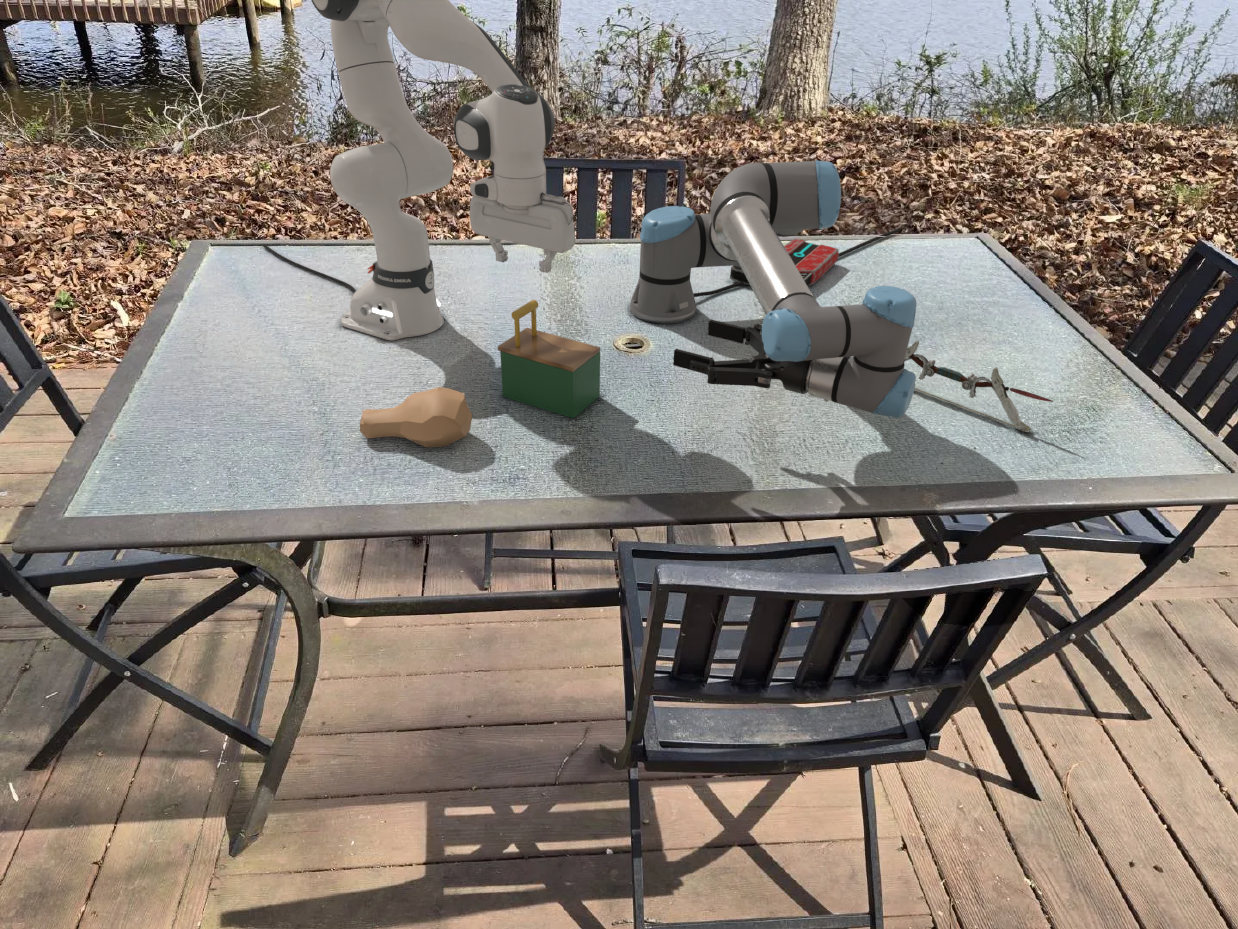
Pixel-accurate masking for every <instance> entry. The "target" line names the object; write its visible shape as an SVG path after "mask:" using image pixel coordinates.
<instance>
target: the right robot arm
mask: <svg viewBox="0 0 1238 929" xmlns="http://www.w3.org/2000/svg"><path fill="white" fill-rule="evenodd" d="M840 179H841V178H840V175H839V172H838V168H837V167H836V165H835V164H834V163H833V162H831V161H827V160H818V159H815V160H806V161H804V160H803V161H783V162H782V161H779V162H751V163H747V164H743V165H740V166H739V167H737V168H735V169H733V170H732V171H730V172H729V173H728V174H727V175H726V176H725V177H723V179H722V180H721V181H720V183H719V184H718V185H717V187H716V188H715V191H714V193H713V195H712V197H711V198H712V199H711V201H710V208H709V213H698V214H696V213H695V210H693V209H692V208H690V207H689V206H679V205H669V206H668V205H667V206H662V207H659V208H656V209H653V210H651V211H650V212H648V213H647V214H646V215H645V216H644V217H643V219H642V220H641V229H640V234H639V240H640V252H639V277H638V280H637V283H636V286H635V288H634V291H633V293H632V296H631V299H630V306H629V307H630V308H629V309H630V312H631V314H632V315H633V316H634V317H636V318H638V319H640V320H642V321H645V322H649V323H652V324H653V323H654V324H663V325H666V324H670V325H671V324H679V323H683V322H686V321H689V320H690V319H692V318H693V317H694V316H695V315H696V310H697V304H696V298H697V297H705V296H712V295H716V294H719V293H723V292H725V291H728V290H732V289H735V288H738V287H742V286H747V285H746V284H744V283H743V282H735V283H732V284H729V285H726V286H723V287H721V288H716V289H714V290H713V289H712V290H710V291H700V292H694V291H693V287H692V283H691V272H692V269H694V268H696V269H697V268H712V267H713V268H714V267H731V266H736V265H737V266H740V267H741V269H742V270H743V272H744V274H745V276H746V278H747V280H748V282H749V284H750V285H749V286H750V288H751V289H752V291H753V293H754V295H755V297H756V299H757V301H758V303H759V305H760V306H761V308H762V310H763V312H764V314H765V316H764V318H763V320H762V323H761V324H760V323H754V324H753V326H746V327H744V326H739V325H736V324H731V323H727V322H723V321H720V320H715V319H711V318H710V319H709V320H708V324H707V326H708V327H707V336H710V337H714V338H718V339H722V340H726V341H729V342H734V343H737V344H743V343H744V346H750V347H751V348H752V349H753V350H754V351H756V353H757V355H751V356H750V357H749V358H744V359H729V360H715V358H713V356H712V357H710V356H706V355H703V354H698V353H694V352H691V351H687V350H683V349H679V348H675V349H674V351H673V363H672V366H674V367H678V368H682V369H686V370H689V371H693V372H697V373H700V374H704V375H706V376H707V379H706V380H707V382H706V383H707V384H709V385H722V386H746V387H747V386H748V387H749V386H751V387H756V388H757V387H758V388H763V389H770V388H771V383H772V380H775V381H776V380H777V381H781V383H782V386H783V389H785V390H786V391H789V392H792V393H796V394H800V395H805V394H808V395H809V396H810V397H813V398H817V399H820V400H823V401H824V402H826V403H827V402H832V403H836V404H838V405H841V406H842V405H843V406H846V407H850V408H853V409H857V410H860V411H864V412H867V413H870V414H872V415H877V416H883V417H887V418H896V419H898V418H902V417H904V415H905V414H906V413H907V411H908V410H909V407H910V404H911V401H912V398H913V395H914V392H915V389H916V383H917V382H916V381H917V376H916V374H915V373H914V372H913V371H911V370H908V369H907V368H905V366H906V364H905V362H906V361H905V355H906V351H907V348H908V347H909V342H910V340H911V336H912V331H913V329H914V328H915V319H916V313H917V299H916V297H915V295H914V294H912V293H911V292H909V291H908V290H906V289H904V288H902V287H898V286H892V285H876V286H875V287H871V288H869V289H868V290H867V291H866V292H865V295H864V297H863V299H862V304H861V303H860V304H846V305H845V304H844V305H835V306H833V305H832V306H820V303H819V302H818V301H817V300H816V298H815V296H814V294H813V293H812V291H811V290H810V287H809V286H807V284H806V283H805V281H804V279H803V278H802V276H801V274H800V273H799V271H798V269H797V268H796V266H795V264H794V262H793V261H792V259H791V257H790V256H789V254H788V252H787V251H786V249H785V247H784V246H785V245H784V244H783V242H782V241H781V239H780V238H779V237H782V238H784V237H785V238H787V237H792V236H794V235H797V234H800V233H801V232H804V231H806V230H820V231H821V230H823V229H829V228H831V227H833V226H834V225H835V223H836V222H837V220H838V218H839V214H840V209H841V205H842V204H841V202H842V186H841V185H842V184H841V180H840ZM901 231H902V229H901V228H897V229H894V230H891V231H887V232H885V233H883V234H879V236H886V237H888V236H891V235H894V234H897V233H900V232H901ZM883 238H884V237H877V236H874V237H873V238H870V239H869V240H865V241H864V242H861V243H859V244H857V245H855V246H853V247H850V248H847V249H845V250H843V251H841V252H839V256H838V258H840V257H843V256H845V255H848V254H849V253H851V252H854V251H856V250H858V249H861V248H862V247H865V246H867V245H869V244H871V243H874V242H877V241H879V240H881V239H883ZM914 388H915V389H914Z"/></svg>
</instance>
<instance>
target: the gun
mask: <svg viewBox="0 0 1238 929" xmlns="http://www.w3.org/2000/svg"><path fill="white" fill-rule="evenodd" d="M783 246H784V247H785V249H786V251H787V252H788V254H789V256H790V257H791V259H792V261H793V262H794V264H795V266H796V268H797V269H798V271H799V273H800V274H801V276H802V278H803V279H804V281H805V283H806V284H807V286H808V287H810V286H813V285H814V284H815V283H816V282H818V281H819V280H820V279H821V278H822V277H824V276H825V274H826V273H827V272H828V271H829V270H830V269H831V268H832V267H833V266H834V265H836V263H837V261H838V258H839V257H838V256H839V253H840V252H839V248H837V247H833V246H829V245H824V244H815V243H811V242H807V241H806V240H805V239H801V238H793V239H791V240H790V241H789V242H787V243H786V244H784V245H783ZM729 280H730V281H733V282H735V283H739V282H743V283H744V284H746V285H745V286H750V284H749V282H748V280H747V278H746V276H745V274H744V272H743V270H742V269H741V267H740V266H737V265H736V266H730V273H729Z"/></svg>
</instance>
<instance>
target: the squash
mask: <svg viewBox="0 0 1238 929" xmlns="http://www.w3.org/2000/svg"><path fill="white" fill-rule="evenodd" d="M472 422H473V413H472V411H471V409H470V408H469V406H468V403H467V398H466V395H465V393H464V392H460V391H459V390H454V389H452V388H449V387H442V386H438V387H435V388H431V389H428V390H424V391H423V390H422V391H417V392H413V393H411V394H410V395H409V396H407V397H406V398H405V399H404V401H403V402H401V403H399V404H398V405H396V406H394V407H387V408H381V409H380V408H379V409H375V408H366V409H363V410H362V412H361V418H360V422H359V432H360V433H361V434H362V435H363V436H364V437H365V439H375V438H385V437H386V438H387V437H397V438H402V439H407V440H409V441H411V442H413V443H414V444H417V445H419V446H421V447H424V448H426V449H427V448H428V449H429V448H444V447H447V446H449V445H451V444H453V443H456V442H457V441H459V440H461V439H463V438H465V437H466V436H467V435H468V433H469V432H470V431H471V427H472Z"/></svg>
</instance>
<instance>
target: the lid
mask: <svg viewBox="0 0 1238 929" xmlns="http://www.w3.org/2000/svg"><path fill="white" fill-rule="evenodd" d="M538 308H539V302H538V301H537V300H536V299H531V300H530V301H528V302H527V303H525V304H523V305H522V306H520V307H519V308H517V309H515V310H514V311H512V312H511V318H512V319H513V320H514V321H513V322H514V335H513V336H511V337H510V338H508V339H506V340H505V341H504V342H502V343H500V344H499V345H498V346H497V351H499V352H500V351H502V352H505V353H509V354H512V355H516V356H519V357H523V358H526V359H530V360H533V361H537V362H540V363H544V364H547V365H551V366H554V367H558V368H561V369H564V370H568V371H571V372H574V371H575V370H576V369H578V368H579V367H580V366H582V365H583V364H584V363H586V362H587V361H588V360H589V359H591V358H592V357H593V356H595V355H596V354H597V353H599V352H600V353H601V347H600V346H597V345H593V344H589V343H586V342H581V341H579V340H574V339H571V338H567V337H563V336H560V335H556V334H553V333H549V332H545V331H541V330H538V329H537V328H538V327H537V309H538ZM528 314H530V319H531V324H530V325H531V328H530V327H525V328H524V329H522V330H521V325H520V320H521V319H522V318H523V317H525V316H527V315H528Z"/></svg>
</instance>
